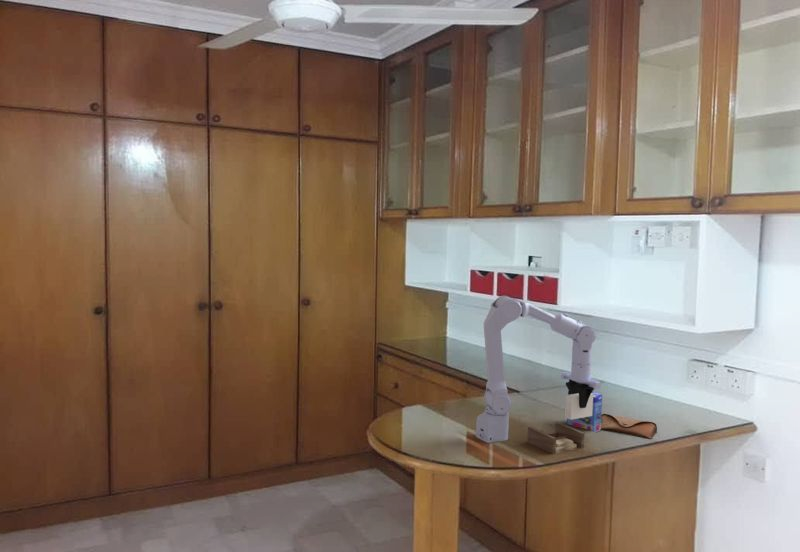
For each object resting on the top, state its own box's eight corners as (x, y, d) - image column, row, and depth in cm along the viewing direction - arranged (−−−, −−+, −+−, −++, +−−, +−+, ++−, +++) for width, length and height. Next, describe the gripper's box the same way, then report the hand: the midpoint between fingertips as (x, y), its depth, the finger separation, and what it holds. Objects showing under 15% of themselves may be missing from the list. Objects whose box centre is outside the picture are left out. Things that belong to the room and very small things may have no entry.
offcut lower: (555, 451, 183) (556, 448, 183) (547, 447, 186) (547, 444, 186) (576, 447, 187) (576, 444, 187) (567, 443, 190) (567, 440, 190)
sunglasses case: (594, 429, 208) (598, 409, 210) (598, 434, 213) (601, 415, 216) (653, 439, 199) (656, 418, 202) (655, 445, 205) (658, 424, 207)
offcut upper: (557, 447, 184) (557, 444, 184) (550, 444, 187) (550, 440, 186) (573, 444, 187) (573, 441, 187) (565, 441, 190) (566, 437, 189)
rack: (552, 457, 182) (553, 438, 181) (527, 445, 191) (528, 427, 191) (583, 450, 187) (584, 432, 187) (557, 439, 197) (558, 422, 196)
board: (570, 419, 194) (571, 397, 193) (564, 417, 196) (565, 395, 195) (592, 415, 198) (593, 393, 198) (586, 413, 200) (587, 392, 200)
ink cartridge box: (565, 427, 210) (567, 383, 208) (573, 423, 214) (575, 381, 212) (593, 434, 203) (595, 389, 202) (601, 430, 207) (603, 386, 206)
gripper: (608, 366, 191) (606, 411, 192) (573, 357, 204) (571, 398, 205) (591, 368, 188) (589, 413, 189) (557, 359, 201) (555, 401, 202)
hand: (579, 406), depth 197 cm, fingers closed on board, 2 cm apart
